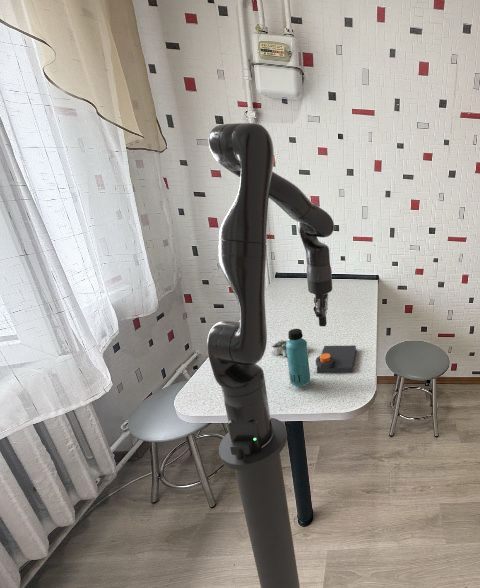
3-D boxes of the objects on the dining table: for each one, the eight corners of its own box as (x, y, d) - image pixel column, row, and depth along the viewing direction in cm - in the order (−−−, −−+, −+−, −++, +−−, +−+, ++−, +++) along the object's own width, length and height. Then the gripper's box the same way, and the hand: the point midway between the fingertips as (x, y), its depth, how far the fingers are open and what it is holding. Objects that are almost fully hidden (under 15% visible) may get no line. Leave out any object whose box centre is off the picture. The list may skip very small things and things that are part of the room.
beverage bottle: (310, 377, 112) (305, 324, 104) (312, 388, 106) (307, 334, 99) (289, 380, 110) (283, 327, 102) (290, 393, 104) (283, 337, 96)
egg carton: (307, 349, 128) (306, 340, 126) (295, 360, 121) (294, 350, 119) (283, 344, 130) (282, 335, 129) (270, 354, 124) (269, 344, 122)
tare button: (329, 363, 115) (329, 358, 114) (319, 363, 114) (318, 358, 114) (331, 357, 118) (331, 353, 117) (321, 357, 118) (320, 353, 117)
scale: (352, 372, 115) (351, 364, 114) (314, 373, 114) (314, 364, 113) (355, 349, 129) (355, 341, 128) (322, 349, 128) (322, 342, 127)
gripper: (311, 270, 110) (315, 316, 117) (302, 283, 98) (307, 335, 105) (334, 270, 111) (337, 316, 117) (328, 284, 99) (331, 335, 105)
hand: (323, 325), depth 111 cm, fingers closed
